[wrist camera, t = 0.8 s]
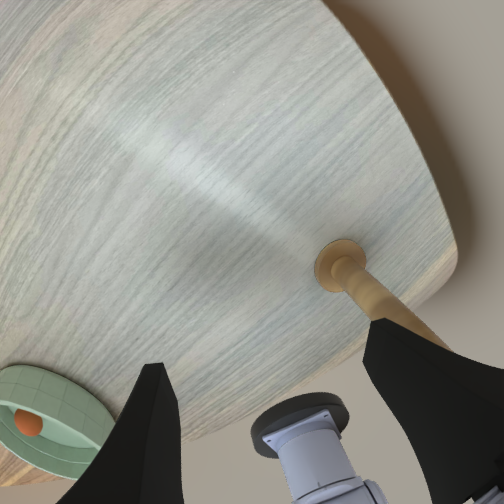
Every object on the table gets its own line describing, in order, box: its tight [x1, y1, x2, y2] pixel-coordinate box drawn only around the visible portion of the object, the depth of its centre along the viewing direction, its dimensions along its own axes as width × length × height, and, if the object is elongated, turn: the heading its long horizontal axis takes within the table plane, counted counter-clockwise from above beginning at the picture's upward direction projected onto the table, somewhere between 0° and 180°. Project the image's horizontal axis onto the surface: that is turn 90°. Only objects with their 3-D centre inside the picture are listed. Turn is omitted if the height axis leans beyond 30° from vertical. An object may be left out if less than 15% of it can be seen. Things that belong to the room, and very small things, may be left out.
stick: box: [315, 239, 453, 352], centre depth 14 cm, size 4×4×11 cm
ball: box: [14, 408, 43, 436], centre depth 17 cm, size 3×3×3 cm
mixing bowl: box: [0, 365, 115, 480], centre depth 18 cm, size 13×13×4 cm
